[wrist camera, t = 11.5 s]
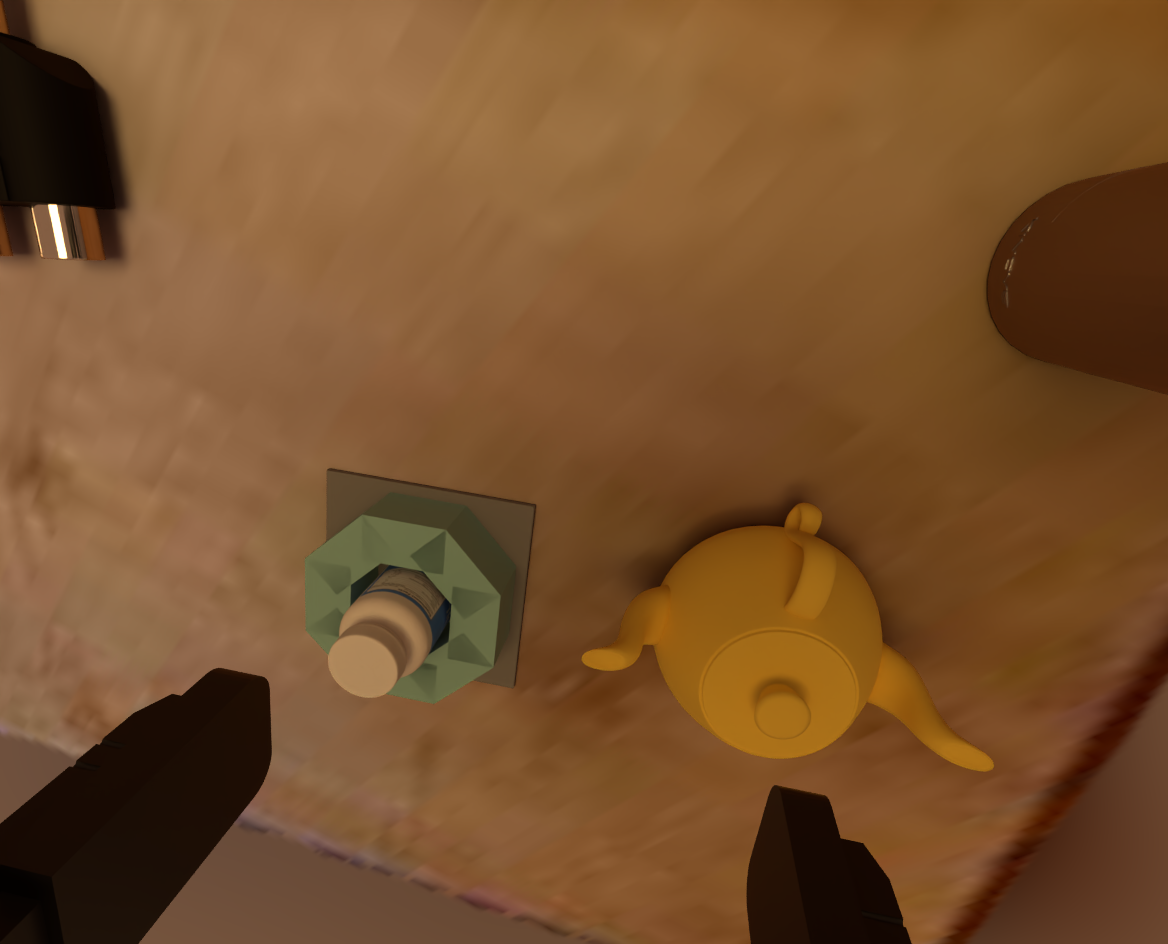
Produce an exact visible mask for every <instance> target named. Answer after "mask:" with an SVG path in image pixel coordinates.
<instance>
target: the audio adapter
mask: <svg viewBox="0 0 1168 944" xmlns="http://www.w3.org/2000/svg"><path fill="white" fill-rule="evenodd" d="M2 206H22V207H30V210H31V214H32V219H33V224H34V228H35V233H36V238H37V242H38V247H39V252H40V256H41V258H44V259H57V260H106V257H105V251H104V246H103V240H102V235H101V230H100V224H99V219H98V213H97V209H115V203H114V197H113V191H112V186H111V180H110V174H109V169H108V163H107V157H106V152H105V146H104V140H103V135H102V129H101V123H100V118H99V112H98V106H97V101H96V95H95V89H94V83H93V80H92V78H91V77H90V75H89V74H88V73H87V71H86V70H85V69H84V68H83V67H82V66H81V65H79V64H78V63H77V62H75V61H73V60H71V59H69V58H66V57H63V56H60V55H57V54H54V53H51V52H48V51H45V50H42V49H39V48H36V46H35V45H34V44H32V43H31V42H29V41H26V40H24V39H21V38H18V37H15V36H12V35H10V31H9V26H8V21H7V17H6V12H5V7H4V2H3V0H0V256H13V251H12V247H11V242H10V238H9V233H8V229H7V225H6V220H5V216H4V211H3V207H2Z"/></svg>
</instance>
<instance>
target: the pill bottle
mask: <svg viewBox="0 0 1168 944" xmlns="http://www.w3.org/2000/svg"><path fill="white" fill-rule="evenodd" d="M450 617H451V603H450V602H449V601H448V600H447V599H446V597H445V596H444V595H443V594H442V593H441V592H440V590H439V589H438V588H437V587H436V586H435V585H434V583H433V582H432V581H431V580H430V579H429V578H428V576H427V575H426V574H425V573H424V572H423V571H419V570H414V569H408V568H403V567H398V566H392V565H388V566H387V567H386V568H385V569H384V570H383V572H382V573H381V574H380V575H379V576H378V577H377V578H376V579H375V580H374V582H373V583H372V584H371V585H370V586H369V587H368V588H367V589H366V590H365V591H364V592H363V593H362V594H361V596H360V597H359V598H358V599H357V600H356V601H355V602H354V603H353V604H352V605H351V606H350V607H349V609H348V610H347V611H346V612H345V614H344V616H343V618H342V620H341V623H340V629H339V638H338V639H337V640H336V642H335V643H334V644H333V646H332V647H331V649H330V652H329V655H328V666H329V669H330V672H331V674H332V676H333V678H334V679H335V681H336V682H337V683H338V684H339V685H340V686H341V687H342V688H343V689H345V690H346V691H348V692H350V693H352V694H354V695H357V696H360V697H366V698H374V697H379V696H382V695H384V694H386V693H387V692H389V691H390V690H391V689H392V688H393V687H394V685H395V684H396V683H397V681H398V680H399V679H400V678H402V677H405V676H407V675H409V674H411V673H413V672H414V671H416V670H417V669H418V668H419V667H420V666H421V665H422V663H423V662H424V660H425V659H426V657H427V656H428V654H429V653H430V651H431V649H432V648H433V646H434V644H435V643H436V641H437V640H438V638H439V636H440V635H441V633H442V631H443V630H444V628H445V627H446V625H447V623H448V622H449V620H450Z"/></svg>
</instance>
